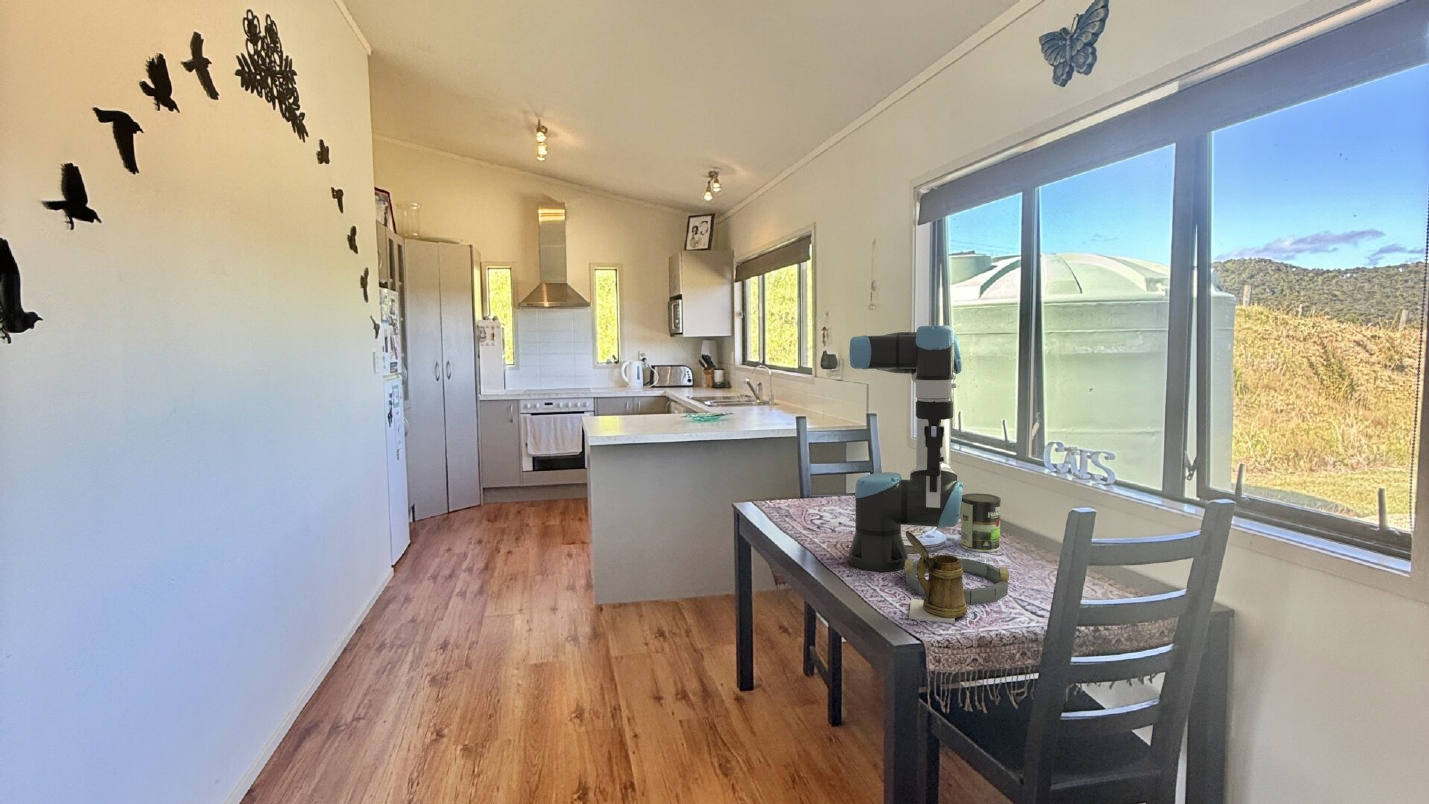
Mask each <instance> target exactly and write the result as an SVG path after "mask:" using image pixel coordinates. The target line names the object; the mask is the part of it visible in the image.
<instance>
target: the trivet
mask: <svg viewBox="0 0 1429 804" xmlns="http://www.w3.org/2000/svg"><path fill="white" fill-rule="evenodd" d="M923 602H924V599H915V598H911V600H910V605H909V606H910V607H909V615H908V617H909V620H919V621H929V622H937V623H947V624H955V619H956V618H947V617H939V616H935V615H932V614H930V613H928V612H927V611H926V610H925V609H924V608H923Z"/></svg>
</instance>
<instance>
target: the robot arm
mask: <svg viewBox="0 0 1429 804" xmlns="http://www.w3.org/2000/svg"><path fill="white" fill-rule="evenodd" d="M954 330H955V329H954V327H953V326H952V325H949V324H948V325H947V324H946V325H943V324H942V325H921V326H918V327H917V328H916V331H899V332H892V333H886V334H881V335H858V336H857V335H856V336H853V337H851V339H850V341H849V364H850V367H851V368H853V370H854V369H855V370H857V369H858V370H877V371H883V372H886V373H893V374H907V375H908V374H911V377H910V378H911V380H912V382H914V383H915V398H916V401H915V417H916V451H915V453H916V458H915V459H916V460H915V464H916V465H915V468H914V469H913V470H912V471H911V472H910V475H909V478H910V479H903V477H902V475H901V473H897V472H876V473H869V474H867V475H863V476H861V477H859V478H858V479H857V480H856V482H855V492H854V493H855V494H854V498H855V517H854V518H855V520H854V521H855V522H854V523H855V532H854V536H853V539H852V542H851V545H850V548H849V550H848V562H849V564H851V565H853V566H854V567H856V568H859V569H862V570H866V571H874V572H893V571H898V570H902V569H905V560H906V559H909V555H908V551H907V548H906V545H905V543H904V539H903V536H902V526H913V527H915V526H916V527H931V528H933V527H935V528H953V527H954V528H955V526H957V525H958V524H959V521H960V516H961V501H962V495H963V493H964V482H963V481H960V480H958V474H957V473H956V472H955V471H954V470H953V469H952V462H951V461H952V457H951V455H952V453H951V451H952V449H951V446H952V445H951V444H952V443H951V437H952V436H951V432H952V431H951V427H952V426H951V425H952V424H951V420H952V419H953V418H954V401H953V400H951V399H952V398H953V397H954V389H956V388H957V383H955V381H956V379H957V377H956V376H957V375H958V374H961V373H962V356H961V355H962V354H961V348H960V347H961V346H960V342H959V338H958V335H957V334H956V333H955V331H954Z"/></svg>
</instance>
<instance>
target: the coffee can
mask: <svg viewBox="0 0 1429 804" xmlns="http://www.w3.org/2000/svg"><path fill="white" fill-rule="evenodd" d="M1001 501H1002V498H1001V497H1000V496H997V495H993V494H989V493H976V492H975V493H966V494H962V501H961V509H960V516H961V517H960V547H961V548H963V549H964V550H967V551H971V552H975V553H993V552H998V551H999V550H1000V549H1001V548H1000V546H1001V545H1000V544H1001V543H1000V539H1001V538H1000V533H1001V532H1000V531H1001Z"/></svg>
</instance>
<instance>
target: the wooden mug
mask: <svg viewBox="0 0 1429 804" xmlns="http://www.w3.org/2000/svg"><path fill="white" fill-rule="evenodd" d="M905 537H906V539H907V540H908V542H909V543H910V544H911V546H912V547H913V548H914V549H915V550H916V551H917V553H918V554H919V556H920V558H919V559H918V560H919V561H918V565H917V575H916V577H917V578H918V580H919V582H920V584H921V586H922V587H923V589H924V591H925V596H926V597H925V596H924V598H923V600H924V602H923V608H924V609H925V610H926V611H927V612H928V613H930V614H932V615H935V616H939V617H947V618H955V619H956V618H960V617H963V616H964V615H966V614H967V613H968V612H969V611H968V606H967V605H968V604H966V602H965V599H964V590H963V589H964V584H963V583H964V582H963V575H964V572H963V569H962V566H961V563H960V559H959V558H960V557H957V556H956V555H952V554H937V555H934V556H930V554H929V552H928V550H927V549H926V547H925V545H923V543H922V541H920V540H919V538H917V537H916V536H915V535H914V534H913V533H911V532H910V531H908V530H906V532H905ZM927 569H928V572H927V573H928V578H926V575H925V573H926V572H925V571H926V570H927Z"/></svg>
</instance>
